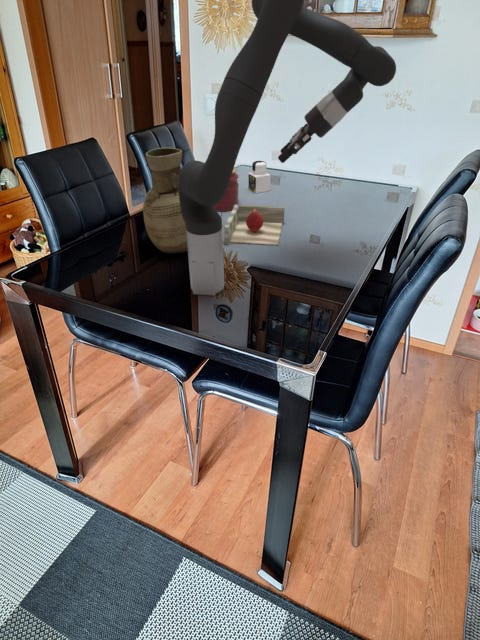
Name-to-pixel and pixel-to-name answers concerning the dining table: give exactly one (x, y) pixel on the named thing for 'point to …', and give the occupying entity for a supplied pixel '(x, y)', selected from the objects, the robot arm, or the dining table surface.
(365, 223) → the dining table surface
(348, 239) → the dining table surface
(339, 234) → the dining table surface
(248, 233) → the tray
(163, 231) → the ceramic vessel
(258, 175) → the medicine bottle
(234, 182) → the canister
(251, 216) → the pomegranate
